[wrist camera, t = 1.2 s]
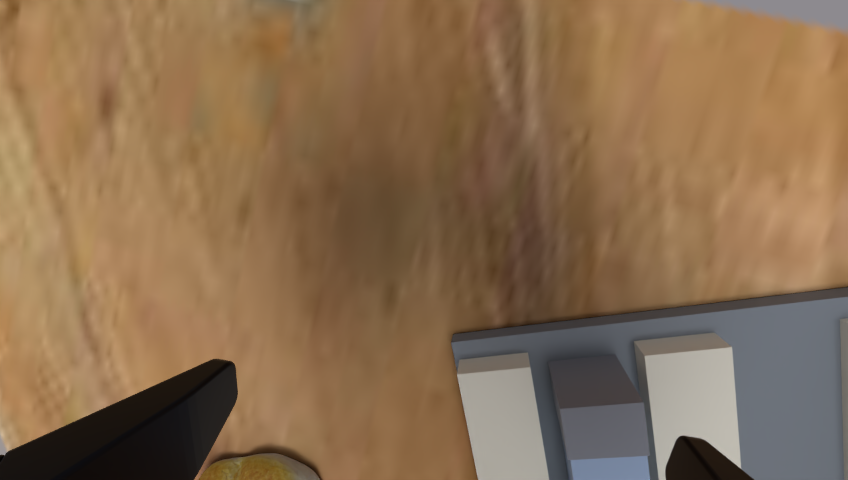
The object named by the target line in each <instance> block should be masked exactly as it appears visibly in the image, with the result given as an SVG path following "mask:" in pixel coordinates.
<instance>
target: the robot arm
mask: <svg viewBox="0 0 848 480" xmlns="http://www.w3.org/2000/svg"><path fill="white" fill-rule="evenodd" d="M237 395H238V390H237V378H236V368H235V364H234V363H233V362H231V361H227V360H221V359H212V360H210V361H208V362H206V363H203V364H201V365H199V366H197V367H194V368H192V369H190V370H188V371H186V372H183V373H181V374H179V375H177V376H174V377H172V378H170V379H168V380H166V381H163V382H161V383H159V384H157V385H155V386H152V387H150V388H148V389H146V390H143V391H141V392H139V393H137V394H135V395H132V396H130V397H128V398H126V399H123V400H121V401H119V402H117V403H115V404H112V405H110V406H108V407H106V408H103V409H101V410H99V411H97V412H95V413H92V414H90V415H88V416H86V417H84V418H81V419H79V420H77V421H75V422H72V423H70V424H68V425H66V426H64V427H61V428H59V429H57V430H55V431H52V432H50V433H48V434H46V435H44V436H41V437H39V438H37V439H35V440H32V441H30V442H28V443H26V444H24V445H21V446H19V447H17V448H15V449H12V450H10V451H8V452H7V453H6V454H5V456H4V455H0V480H194V479H195V477H196V475H197V474H198V472H199V470H200V469H201V467H202V465H203V463H204V461H205V460H206V458H207V456H208V454H209V452H210V450H211V448H212V446H213V445H214V443H215V441H216V439H217V437H218V435H219V433H220V431H221V429H222V428H223V426H224V424H225V422H226V420H227V418H228V416H229V414H230V413H231V411H232V409H233V407H234V405H235V403H236V400H237ZM665 477H666V480H754V479H753V478H752V477H751V476H749V475H748V474H747V473H746V472H744V471H743V470H742V469H741V468H739V467H738V466H737V465H736V464H734V463H733V462H732V461H731V460H729V459H728V458H727V457H726V456H724V455H723V454H722V453H721V452H719V451H718V450H717V449H716V448H714V447H713V446H712V445H711V444H710V443H708V442H707V441H706V440H704V439H701V438H696V437H690V436H679V437H678V438H677V439H676V441H675V444H674V446H673V449H672V452H671V454H670V457H669V459H668V462H667V464H666V468H665Z"/></svg>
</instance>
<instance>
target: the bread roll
mask: <svg viewBox="0 0 848 480" xmlns="http://www.w3.org/2000/svg"><path fill="white" fill-rule="evenodd" d="M199 480H320V479H319V477H318V476H317V474H316V473H315V472H314V471H313V470H312V469H310V468H309V467H308V466H306V465H305V464H303V463H300V462H298V461H296V460H294V459H291V458H289V457H286V456H284V455H281V454H276V453H263V454H256V455H251V456H247V457H236V458H230V459H224V460H221V461H217V462H215V463H213V464H212V465H211V466H209V467H208V468H207V469H206V470H205V471H204V472H203V474H202V475H201V477H200V478H199Z"/></svg>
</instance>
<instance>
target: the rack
mask: <svg viewBox="0 0 848 480" xmlns="http://www.w3.org/2000/svg"><path fill="white" fill-rule="evenodd" d="M451 344H452V349H453V354H454V359H455V364H456V369H457V377H458V382H459V387H460V392H461V397H462V402H463V407H464V412H465V417H466V422H467V427H468V432H469V437H470V442H471V447H472V452H473V457H474V462H475V467H476V472H477V477H478V480H569V479H568V472H567V466H566V460H565V453H564V447H563V441H562V434H561V429H560V424H559V420H558V416H557V412H556V408H555V403H554V396H553V390H552V384H551V378H550V371H549V365H548V361H557V360H567V359H577V358H587V357H596V356H606V355H616V356H617V358H618V360H619V362H620V363H621V365H622V367H623V368H624V370H625V372H626V373H627V375H628V377H629V378H630V380H631V382H632V383H633V385H634V387H635V388H636V390H637V392H638V394H639V395H640V397H641V399H642V400H643V402H644V409H645V417H646V426H647V434H648V443H649V451H650V456H647V457H648V465H649V474H650V480H666V477H665V468H666V464H667V462H668V459H669V457H670V454H671V452H672V449H673V446H674V444H675V441H676V439H677V438H678V437H679V436H690V437H696V438H701V439H704V440H706V441H707V442H708V443H710V444H711V445H712V446H713V447H714V448H716V449H717V450H718V451H719V452H721V453H722V454H723V455H724V456H726V457H727V458H728V459H729V460H731V461H732V462H733V463H734V464H736V465H737V466H738V467H739V468H741V469H742V470H743V471H744V472H746V473H747V474H748V475H749V476H751V477H752V478H753V479H754V480H848V287H846V288H837V289H829V290H820V291H812V292H804V293H795V294H787V295H778V296H770V297H762V298H753V299H745V300H736V301H728V302H720V303H711V304H703V305H695V306H686V307H678V308H669V309H661V310H653V311H644V312H636V313H627V314H619V315H611V316H602V317H594V318H585V319H577V320H569V321H560V322H552V323H543V324H535V325H527V326H518V327H510V328H501V329H493V330H485V331H476V332H468V333H459V334H453V337H452V341H451Z"/></svg>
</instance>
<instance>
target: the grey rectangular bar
mask: <svg viewBox="0 0 848 480" xmlns="http://www.w3.org/2000/svg"><path fill="white" fill-rule="evenodd" d="M548 365H549V371H550V378H551V384H552V390H553V396H554V403H555V408H556V412H557V416H558V420H559V424H560V429H561V434H562V441H563V447H564V453H565V460H566V466H567V472H568V479H569V480H650V474H649V465H648V457H647V456H650V451H649V443H648V434H647V426H646V417H645V409H644V402H643V400H642V399H641V397H640V395H639V394H638V392H637V390H636V388H635V387H634V385H633V383H632V382H631V380H630V378H629V377H628V375H627V373H626V372H625V370H624V368H623V367H622V365H621V363H620V362H619V360H618V358H617V356H616V355H606V356H596V357H587V358H577V359H567V360H557V361H548Z"/></svg>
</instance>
